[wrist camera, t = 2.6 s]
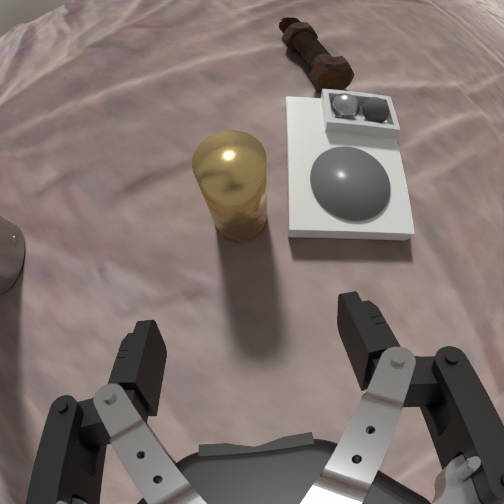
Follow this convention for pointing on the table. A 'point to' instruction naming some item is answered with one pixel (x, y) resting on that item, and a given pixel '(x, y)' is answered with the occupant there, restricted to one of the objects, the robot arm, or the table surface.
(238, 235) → the ball
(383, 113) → the rubber ball
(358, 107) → the steel ball
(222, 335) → the table surface
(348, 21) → the table surface
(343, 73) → the bolt
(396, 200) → the plate
